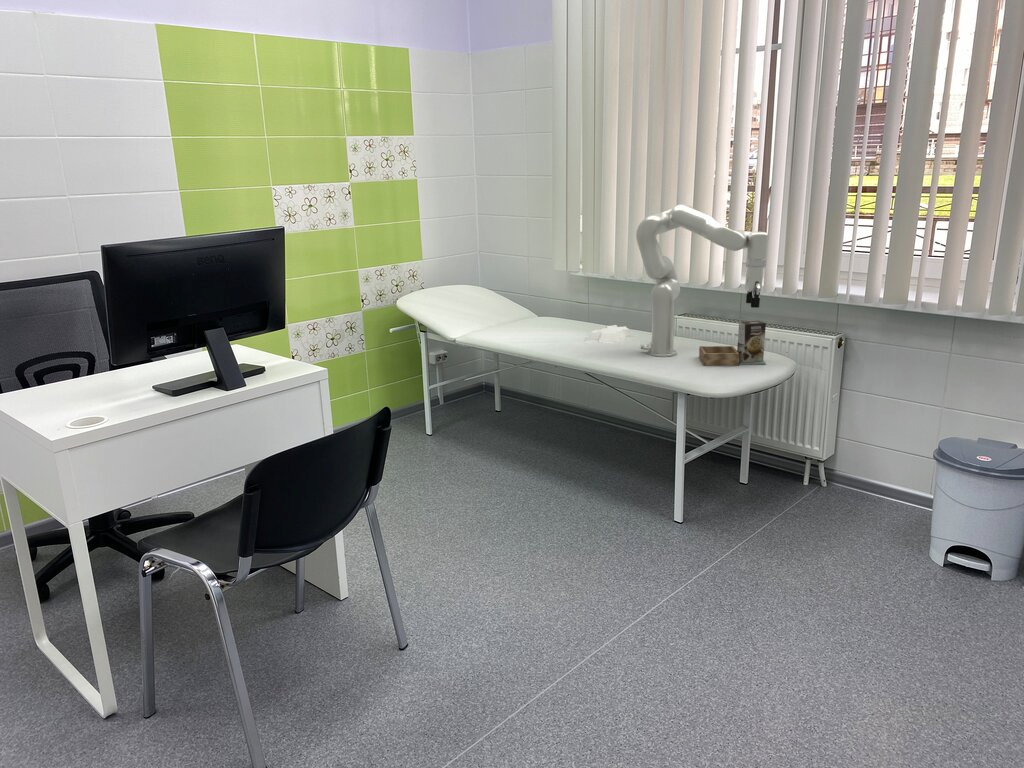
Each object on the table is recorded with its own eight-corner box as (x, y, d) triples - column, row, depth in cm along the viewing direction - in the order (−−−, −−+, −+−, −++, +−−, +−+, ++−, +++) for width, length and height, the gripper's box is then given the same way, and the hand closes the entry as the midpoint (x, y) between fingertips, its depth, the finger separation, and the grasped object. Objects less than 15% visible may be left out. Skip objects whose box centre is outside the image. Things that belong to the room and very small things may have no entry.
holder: (703, 365, 310) (704, 353, 308) (698, 357, 323) (699, 346, 322) (738, 365, 308) (739, 353, 307) (732, 357, 322) (733, 346, 320)
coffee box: (744, 362, 310) (746, 324, 305) (736, 359, 316) (738, 321, 311) (764, 361, 311) (766, 322, 307) (755, 357, 318) (758, 319, 313)
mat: (740, 364, 309) (740, 363, 309) (735, 358, 319) (736, 357, 319) (765, 364, 308) (765, 363, 308) (760, 358, 318) (760, 357, 318)
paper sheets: (609, 350, 344) (609, 338, 342) (573, 345, 356) (573, 333, 355) (647, 336, 370) (647, 325, 368) (613, 332, 382) (613, 321, 381)
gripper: (742, 260, 311) (739, 301, 316) (750, 265, 295) (747, 309, 300) (760, 260, 311) (757, 301, 316) (770, 266, 294) (766, 309, 299)
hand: (752, 305), depth 308 cm, fingers open, 9 cm apart
